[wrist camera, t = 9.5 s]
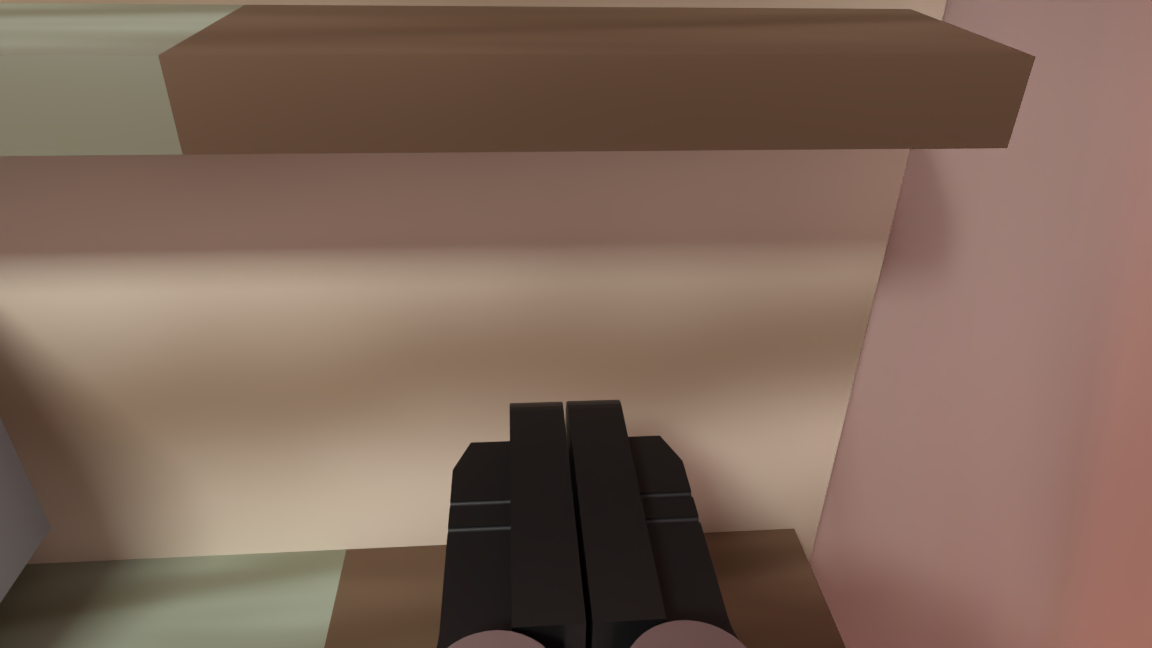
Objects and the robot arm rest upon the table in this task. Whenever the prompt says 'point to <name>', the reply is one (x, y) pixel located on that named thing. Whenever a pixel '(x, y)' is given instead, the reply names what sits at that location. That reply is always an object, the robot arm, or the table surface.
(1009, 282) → the table surface
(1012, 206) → the table surface
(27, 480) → the slate block
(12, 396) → the track
